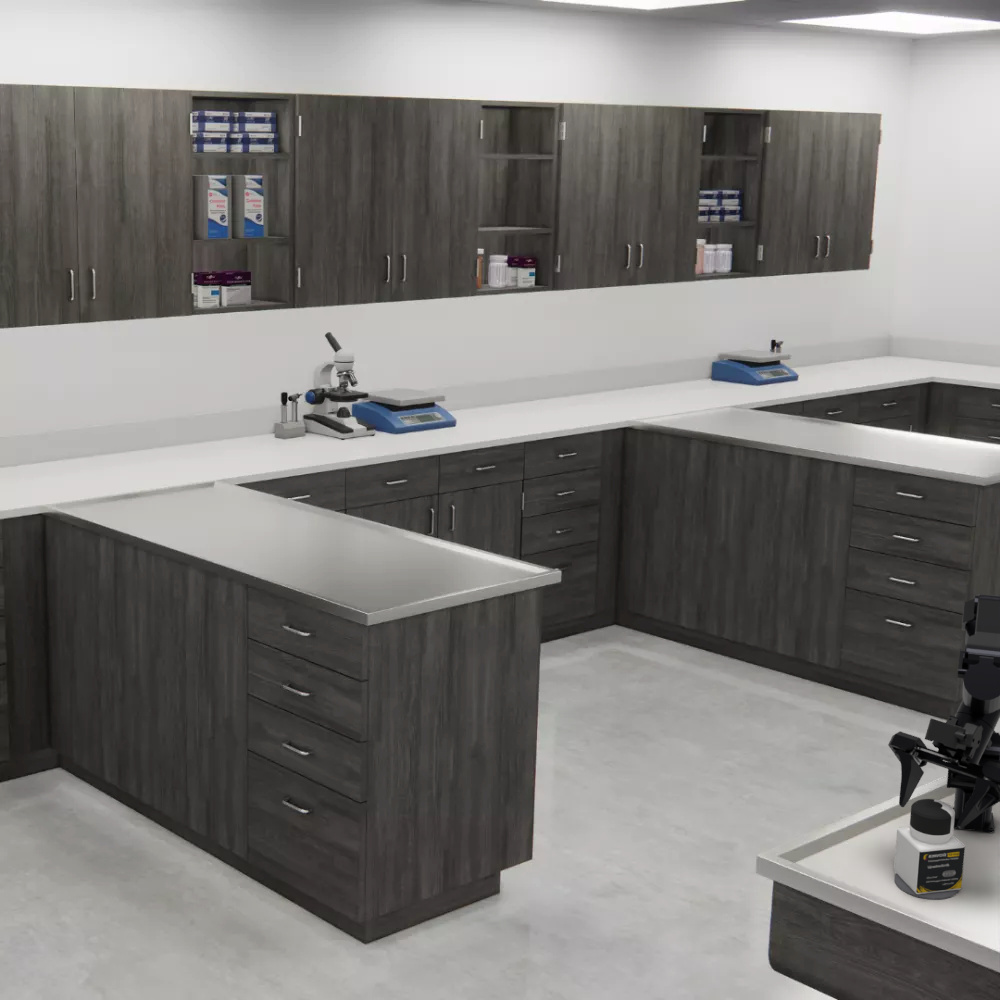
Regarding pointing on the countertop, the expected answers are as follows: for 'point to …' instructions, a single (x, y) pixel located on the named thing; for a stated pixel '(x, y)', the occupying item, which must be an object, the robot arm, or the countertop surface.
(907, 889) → the pad
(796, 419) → the countertop surface
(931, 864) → the medicine bottle
